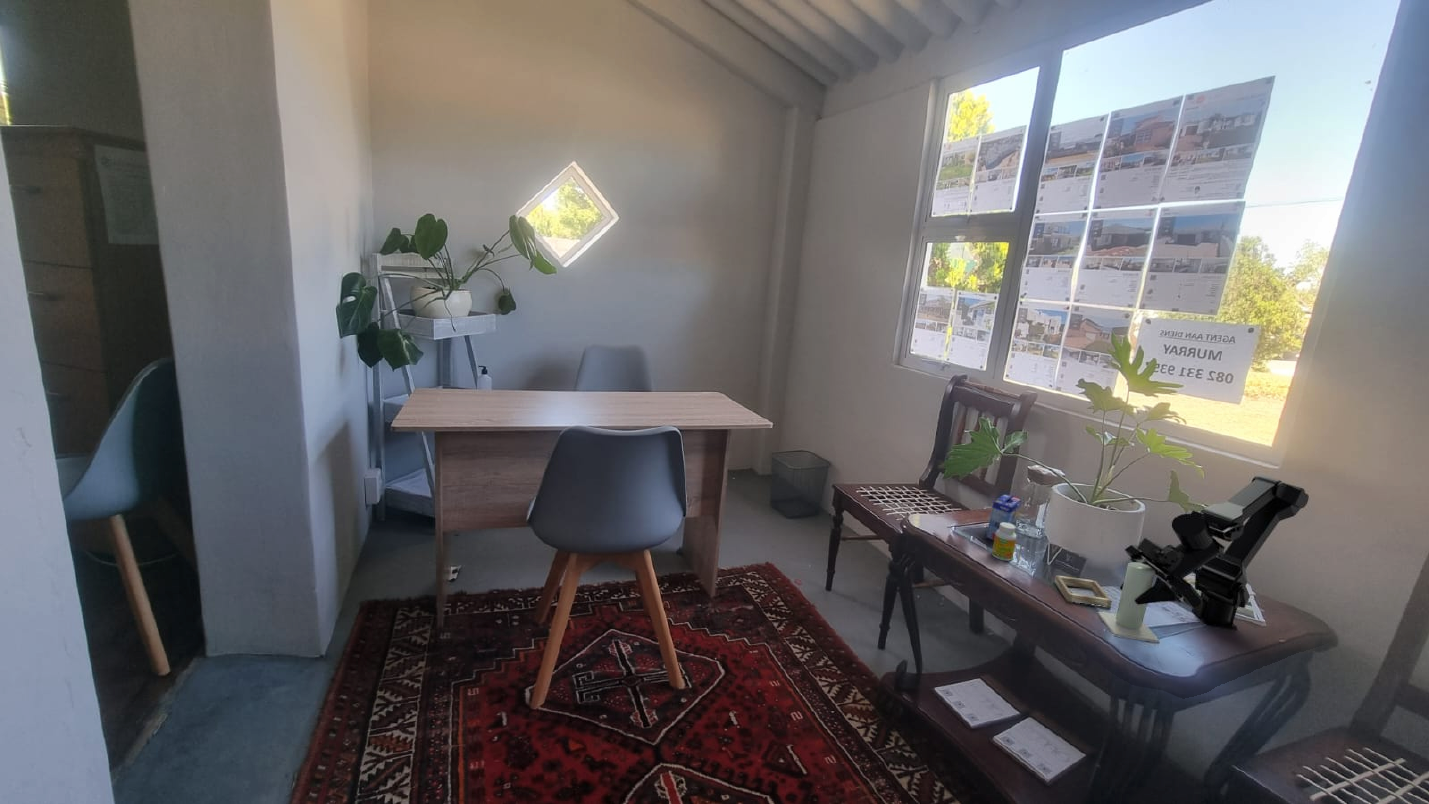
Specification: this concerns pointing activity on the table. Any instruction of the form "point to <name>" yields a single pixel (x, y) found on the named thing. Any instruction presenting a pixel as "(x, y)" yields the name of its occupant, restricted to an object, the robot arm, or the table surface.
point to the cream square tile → (1127, 629)
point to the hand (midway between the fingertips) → (1128, 596)
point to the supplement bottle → (1004, 542)
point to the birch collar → (1077, 598)
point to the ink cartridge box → (1003, 513)
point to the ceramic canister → (1134, 594)
